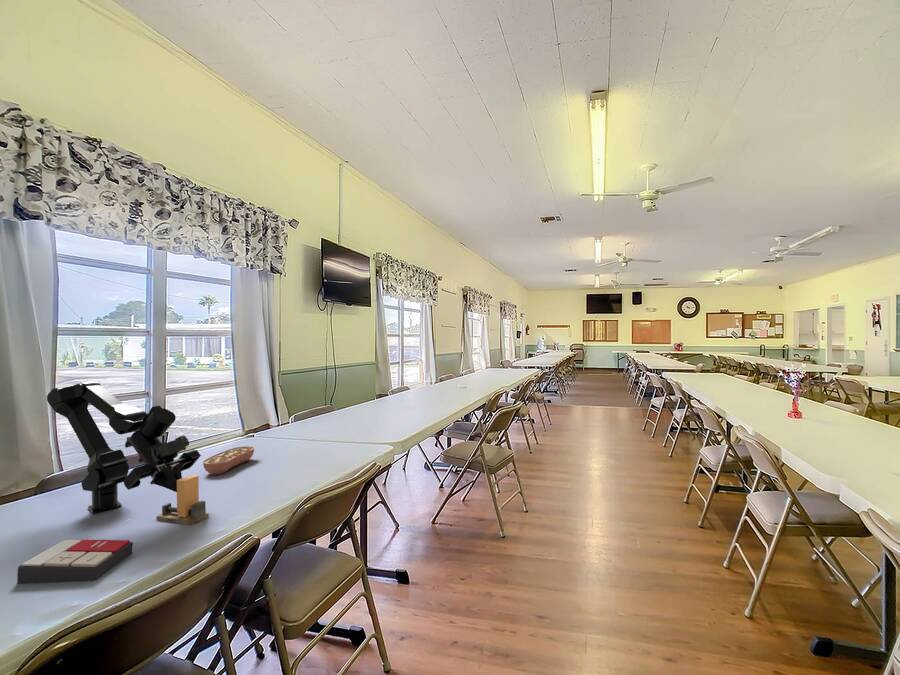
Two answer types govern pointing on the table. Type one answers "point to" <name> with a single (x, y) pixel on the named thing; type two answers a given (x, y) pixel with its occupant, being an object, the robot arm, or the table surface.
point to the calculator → (74, 561)
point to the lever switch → (194, 517)
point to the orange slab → (187, 494)
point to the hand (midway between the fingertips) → (182, 492)
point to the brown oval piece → (227, 459)
